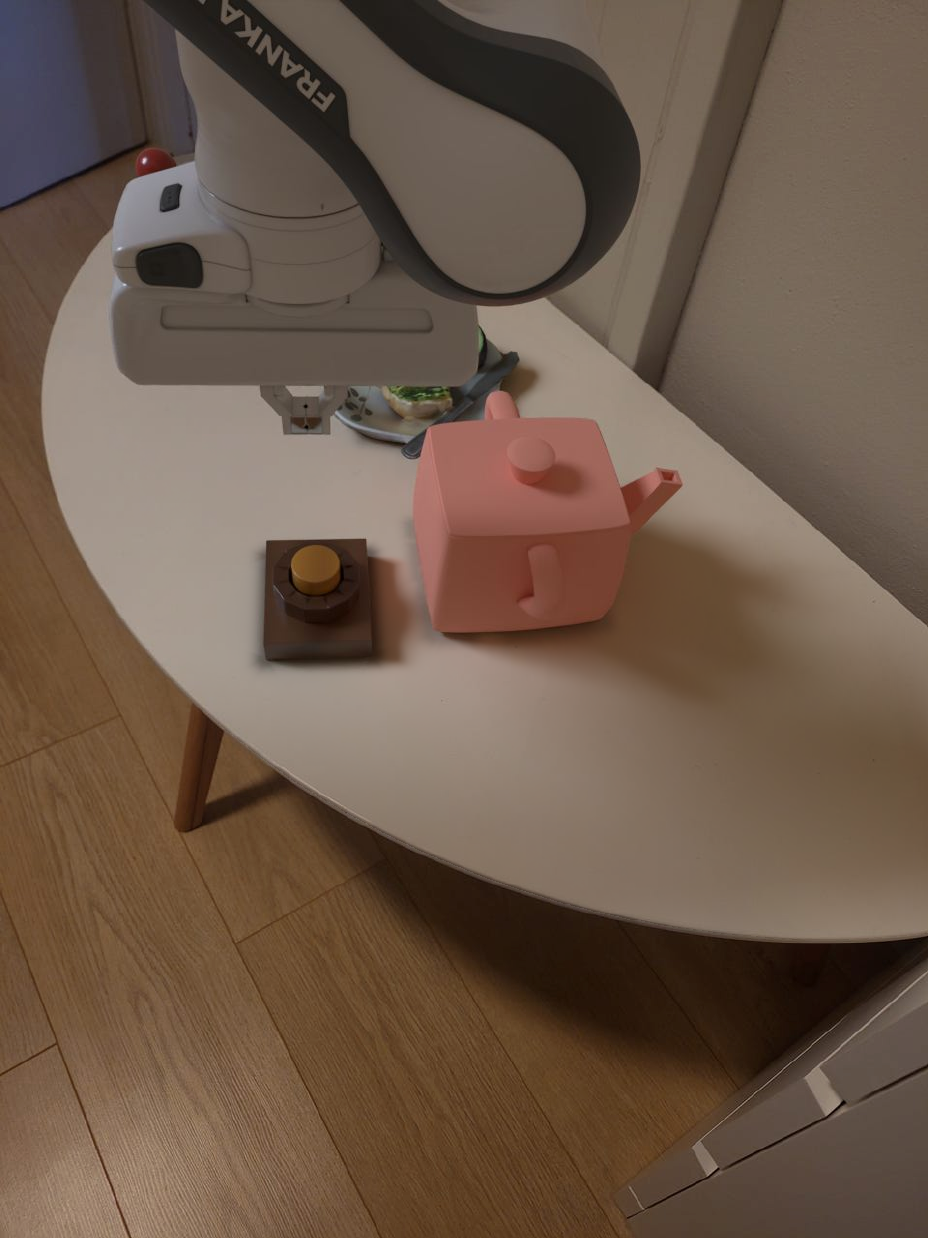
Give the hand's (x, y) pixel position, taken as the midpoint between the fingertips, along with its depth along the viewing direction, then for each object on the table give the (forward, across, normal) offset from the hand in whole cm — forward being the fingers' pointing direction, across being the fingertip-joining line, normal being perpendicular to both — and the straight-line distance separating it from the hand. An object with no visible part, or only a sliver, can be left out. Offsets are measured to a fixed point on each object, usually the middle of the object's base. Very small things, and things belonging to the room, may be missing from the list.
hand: (307, 428), depth 57 cm
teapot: (+19, -18, -3) cm, 26 cm away
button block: (+19, 0, 0) cm, 19 cm away
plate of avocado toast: (+19, -10, -26) cm, 34 cm away
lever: (+8, +10, -42) cm, 43 cm away
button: (+15, 0, 0) cm, 15 cm away
